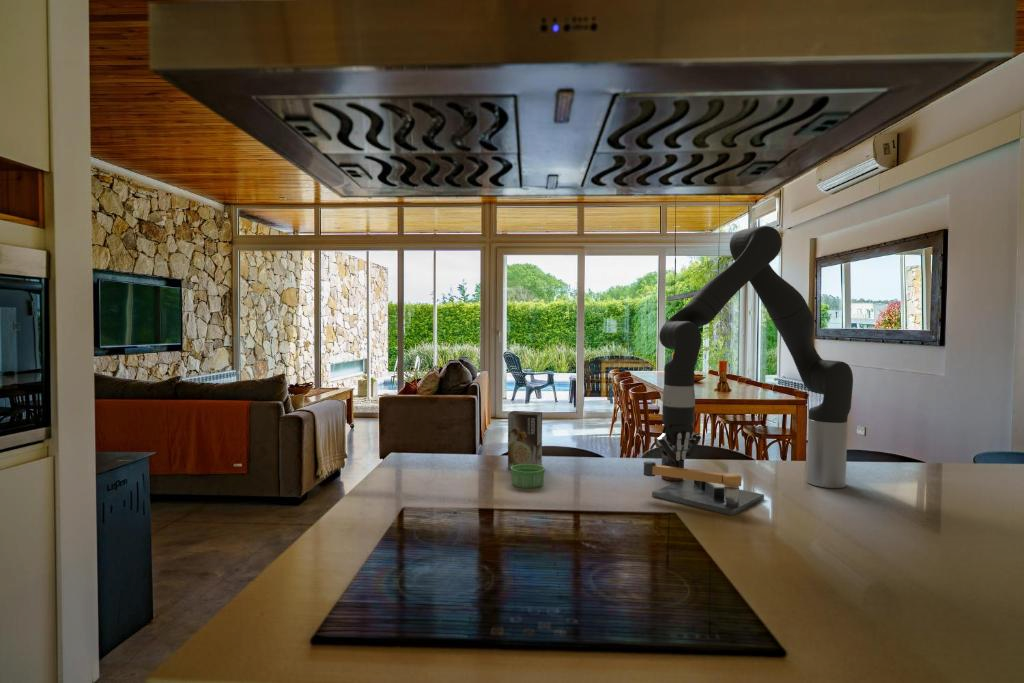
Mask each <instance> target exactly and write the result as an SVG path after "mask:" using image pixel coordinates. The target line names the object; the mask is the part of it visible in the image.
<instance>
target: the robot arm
mask: <svg viewBox="0 0 1024 683" xmlns="http://www.w3.org/2000/svg"><path fill="white" fill-rule="evenodd" d="M782 246H783V241H782V236H781V234H780V232H779V231H778V230H777V229H776V228H774V227H773V226H769V225H761V226H755V227H749V228H744V229H741V230H737V231H736V232H735V233H733V235H732V236H731V238H730V241H729V252H730V254H731V256H732V259H733V261H734V262H732V263H731V264H730V265H729V266H727V267H726V268H725V269H723V270H722V271H721V272H719V273H718V274H717V275H715V276H714V277H712V278H711V279H710V280H709V281H707V282H706V283H705V284H703V286H702V287H701V288H700V289H699V290H698V292H696V294H695V295H694V296H693V297H692V299H691V300H690V301H689V302H688V303H687V304H686V305H685V306H684V307H682V308H681V309H679V310H678V311H677V312H676V313H675V314H673V315H672V316H670V317H669V318H668V319H667V320H666V322H664V323H663V325H662V327H661V329H660V332H659V335H658V336H659V342H660V344H661V345H662V346H663V347H664V348H666V349H667V350H673V351H674V352H673V356H672V359H671V360H668V361H667V362H666V363H665V364H664V369H663V371H664V373H663V390H662V409H661V410H662V411H661V412H662V415H661V417H662V419H661V420H662V423H663V428H662V432H661V433H662V434H660V435H659V437H657V436H656V437H654V442H655V444H656V446H657V447H658V448H659V450H660V451H661V454H662V453H663V455H664V456H665V457H668V458H670V459H671V467H678V468H685V460H686V458H687V457H689V458H690V457H691V456H692V454H693V453H694V451H695V450H696V448H697V446H698V444H699V442H700V441H701V439H702V436H701V435H699V434H697V433H695V429H694V427H693V424H695V420H696V419H695V418H696V417H695V416H696V415H695V414H696V413H695V412H696V407H695V406H696V393H695V368H696V365H697V362H698V358H699V353H700V350H701V347H702V332H701V330H700V327H702V326H706V325H709V324H710V323H711V322H712V321H713V320H714V319H715V318H716V317H717V315H718V314H719V313H720V312H721V311H722V309H724V307H725V306H726V305H727V304H728V302H729V301H730V300H731V299H732V298H733V297H734V296H735V295H736V294H737V293H738V292H739V291H740V290H741V289H742V288H743V287H744V286H745V285H746V284H748V282H749V283H750V284H751V286H752V287H753V289H754V291H755V292H756V294H757V296H758V297H759V299H760V302H761V303H762V304H763V306H764V308H765V309H766V311H767V313H768V316H769V317H770V319H771V321H772V323H773V325H774V326H775V328H776V330H777V332H778V333H779V334H780V336H781V338H782V340H783V342H784V344H785V345H786V348H787V350H788V351H789V353H790V356H791V357H792V359H793V362H794V365H795V367H796V369H797V372H798V374H799V376H800V378H801V379H800V380H801V381H802V383H803V385H804V386H805V388H807V390H809V391H810V392H811V393H815V394H820V395H823V399H822V402H821V404H818V405H817V406H813V407H810V408H809V409H808V415H807V418H808V420H807V425H808V426H807V453H806V454H807V455H806V456H807V457H806V458H807V459H806V483H808V484H810V485H813V486H816V487H821V488H827V489H842V488H845V487H846V481H847V480H846V479H847V478H846V477H847V475H846V474H847V449H848V446H847V444H848V441H847V440H848V417H849V414H850V412H851V410H852V409H851V408H852V399H853V386H854V375H853V371H852V368H851V367H850V365H849V364H848V363H847V362H844V361H840V360H828V359H827V360H826V359H822V358H821V356H820V355H819V353H818V351H817V349H816V347H815V346H814V343H813V336H814V326H815V319H814V318H815V317H814V315H813V312H812V311H811V309H810V307H809V305H808V303H807V301H806V300H805V298H804V297H803V295H802V294H801V292H799V291H798V290H797V289H796V288H795V287H794V286H793V285H791V284H790V283H789V282H787V281H786V280H785V279H784V278H782V277H781V276H780V275H778V273H777V272H776V271H775V270H774V269H773V268H772V266H771V265H770V264H771V263H772V262H773V261H774V260H775V259H776V258H777V256H778V255H779V254H780V252H781V250H782ZM667 443H668V444H667ZM681 445H682V446H681ZM680 451H681V452H680Z"/></svg>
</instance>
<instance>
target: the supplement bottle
mask: <svg viewBox="0 0 1024 683" xmlns="http://www.w3.org/2000/svg"><path fill="white" fill-rule="evenodd" d="M667 444H668V443H667ZM681 446H683V445H681ZM680 452H681V451H680ZM661 465H663V466H670V467H671V459H670V458H668V457H665V456H664V455H663V453H662V452H661ZM660 477H661V479H663V480H666V481H671V482H680V481H683V480H684V479H682V478H675V477H668V476H661V475H660Z"/></svg>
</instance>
